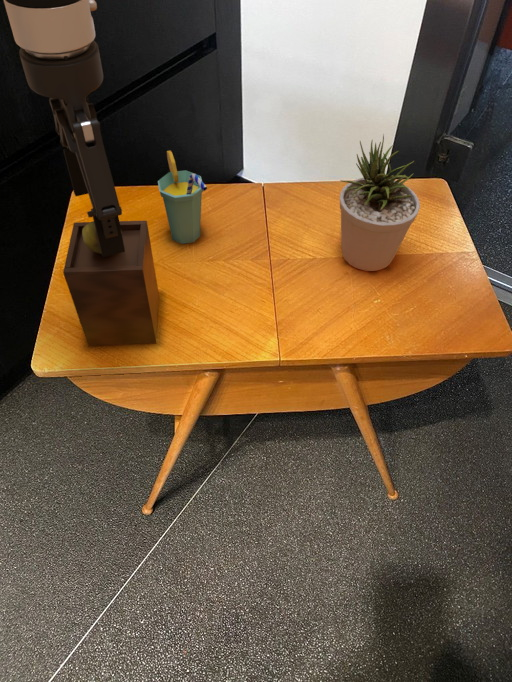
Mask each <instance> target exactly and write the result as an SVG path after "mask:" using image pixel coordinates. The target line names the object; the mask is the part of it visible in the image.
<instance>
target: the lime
mask: <svg viewBox="0 0 512 682" xmlns="http://www.w3.org/2000/svg"><path fill="white" fill-rule="evenodd" d="M89 222H90V223H89V224H87V225H86V226H85V227H84V228H83V229H82V236H83V240H84V243H85V244H86V245H87V246H88V248H89V249H90V250H92V251H94V252H96V253H99V254H101V250H100V246H99V241H98V237H97V233H96V229H95V224H94V220H93V221H89ZM121 233H122V231H121Z"/></svg>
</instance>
